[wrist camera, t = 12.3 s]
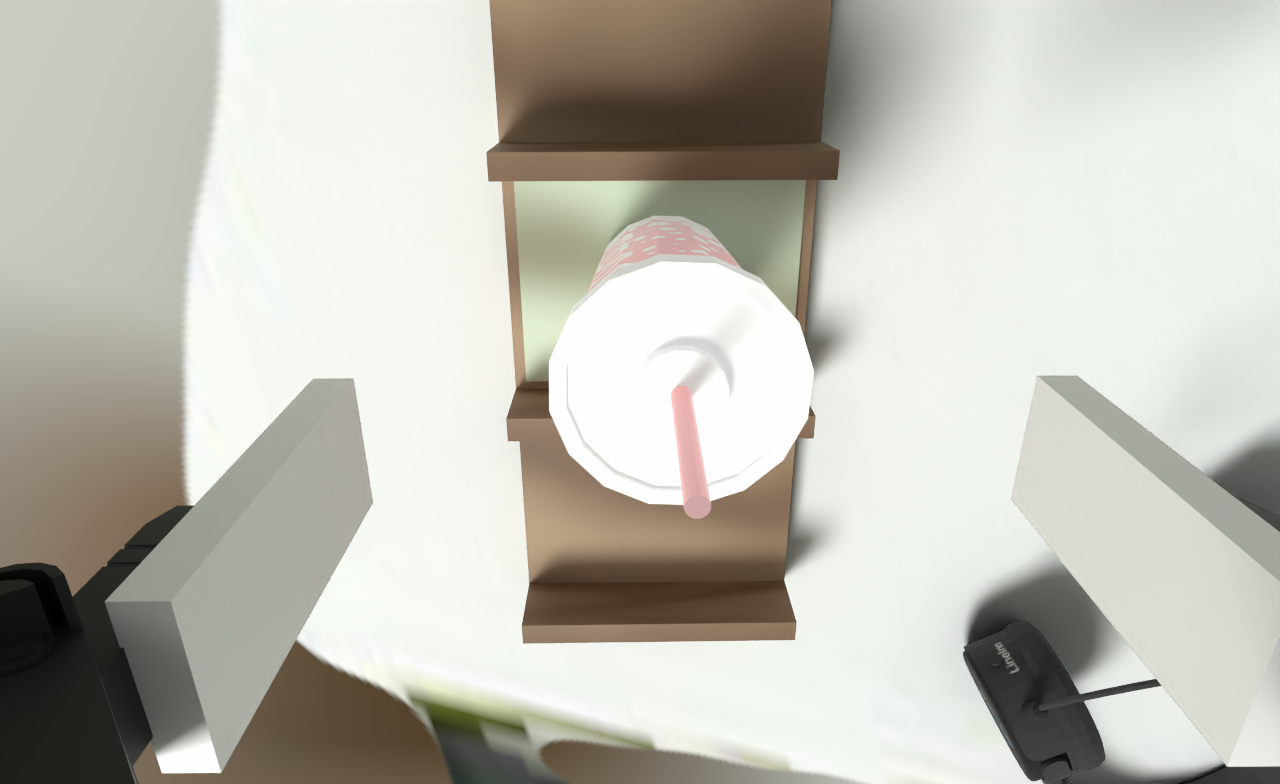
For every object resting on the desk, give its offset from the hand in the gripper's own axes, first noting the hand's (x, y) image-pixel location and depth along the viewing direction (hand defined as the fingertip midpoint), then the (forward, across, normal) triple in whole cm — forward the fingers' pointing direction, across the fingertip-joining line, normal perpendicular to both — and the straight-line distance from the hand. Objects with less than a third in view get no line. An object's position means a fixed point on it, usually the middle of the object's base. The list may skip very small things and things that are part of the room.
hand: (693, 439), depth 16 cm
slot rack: (+13, 0, 0) cm, 13 cm away
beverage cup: (+12, 0, 0) cm, 12 cm away
